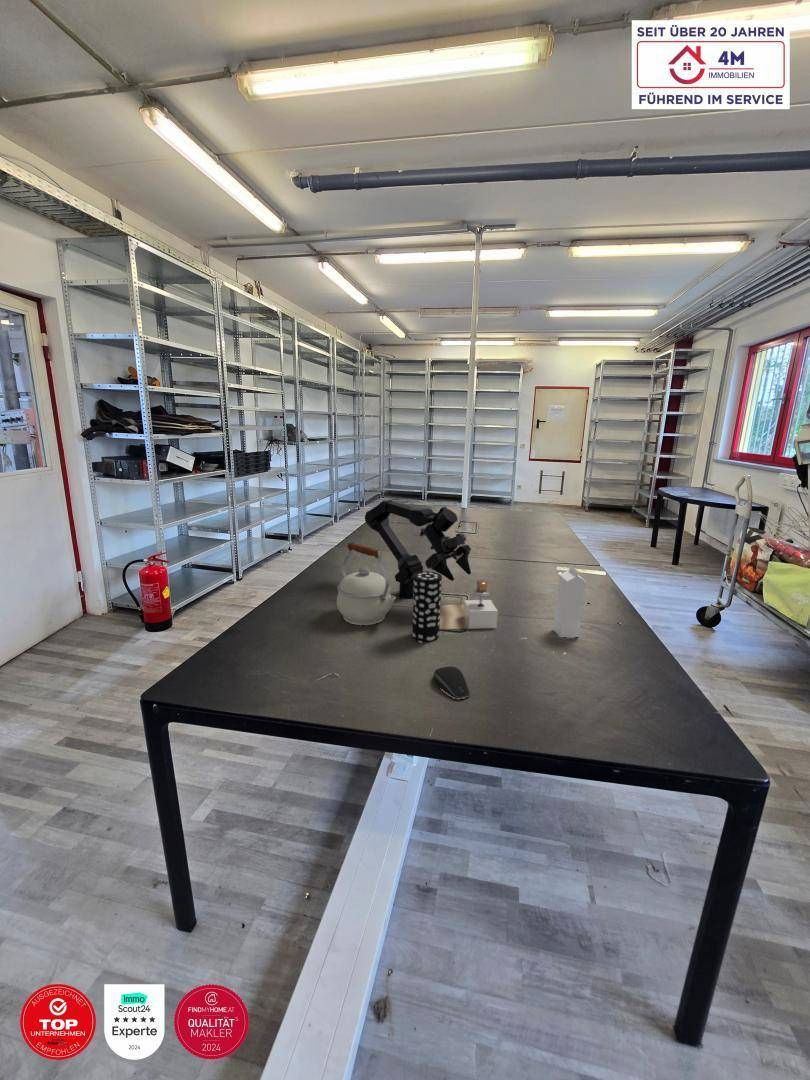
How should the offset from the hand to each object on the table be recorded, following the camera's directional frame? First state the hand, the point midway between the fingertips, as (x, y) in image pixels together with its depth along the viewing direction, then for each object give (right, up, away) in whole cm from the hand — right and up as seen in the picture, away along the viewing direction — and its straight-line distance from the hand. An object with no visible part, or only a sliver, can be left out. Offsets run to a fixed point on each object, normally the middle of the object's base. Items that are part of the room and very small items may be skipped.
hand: (461, 577), depth 148 cm
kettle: (-32, -14, 0) cm, 35 cm away
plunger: (+6, -10, -3) cm, 12 cm away
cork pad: (0, -14, +2) cm, 14 cm away
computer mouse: (-7, -25, -37) cm, 45 cm away
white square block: (+6, -15, -2) cm, 16 cm away
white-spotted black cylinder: (-13, -18, -12) cm, 25 cm away
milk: (+32, -18, -8) cm, 37 cm away
